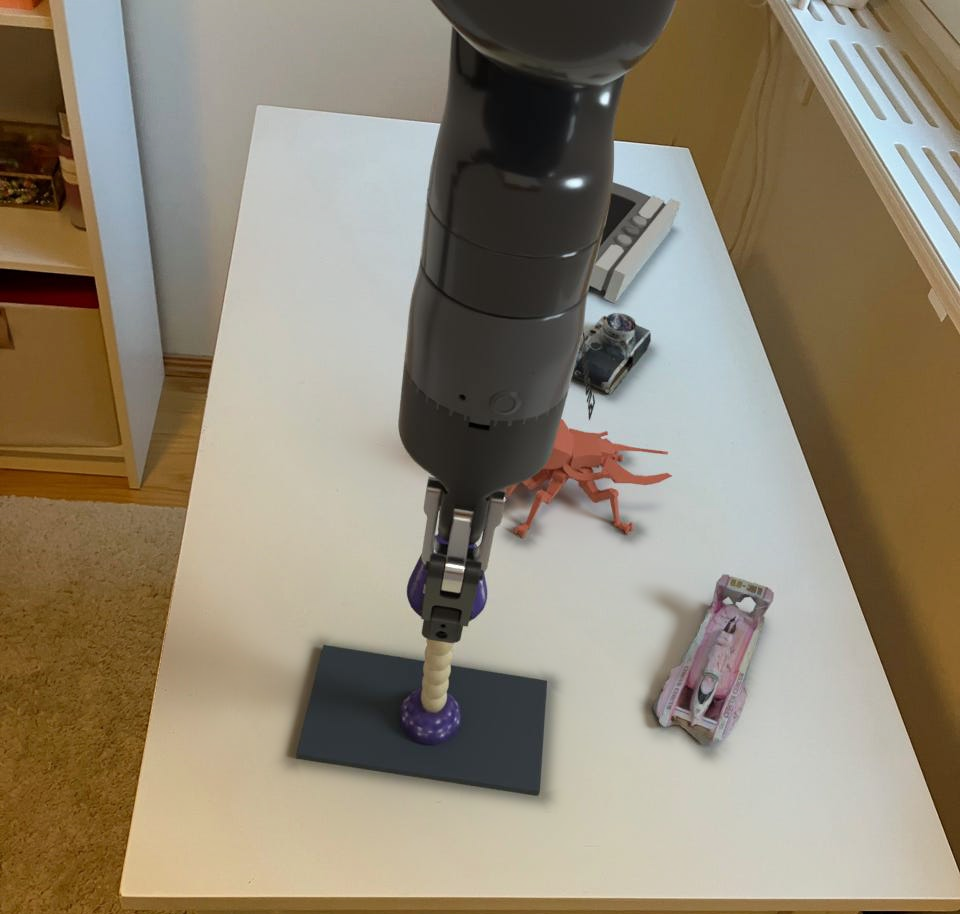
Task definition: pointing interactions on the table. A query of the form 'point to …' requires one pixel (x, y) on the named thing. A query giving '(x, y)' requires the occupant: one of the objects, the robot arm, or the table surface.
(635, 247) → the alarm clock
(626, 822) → the table surface
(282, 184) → the table surface
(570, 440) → the beetle
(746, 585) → the boxed toy car
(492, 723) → the mat
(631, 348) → the camera
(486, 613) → the table surface
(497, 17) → the robot arm
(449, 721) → the toy lamp
